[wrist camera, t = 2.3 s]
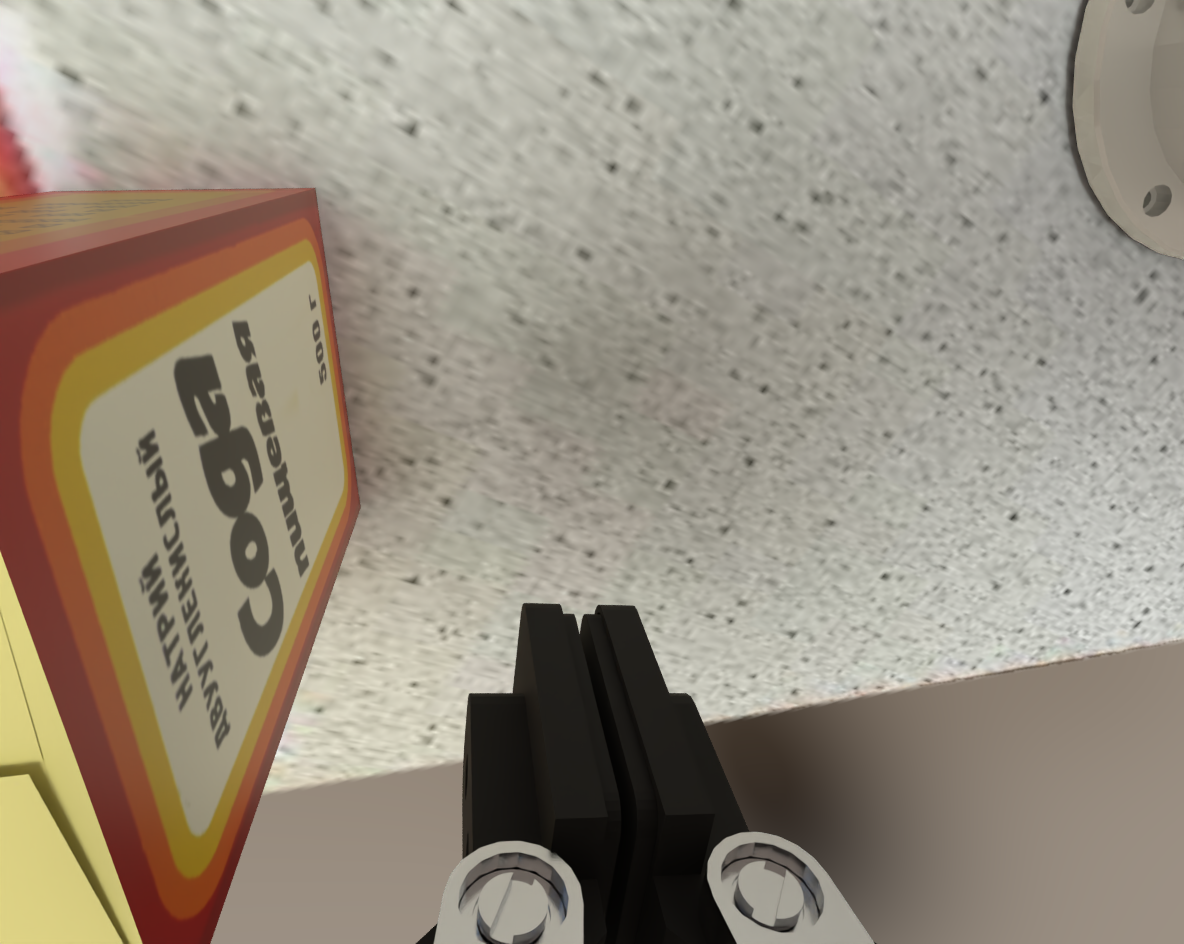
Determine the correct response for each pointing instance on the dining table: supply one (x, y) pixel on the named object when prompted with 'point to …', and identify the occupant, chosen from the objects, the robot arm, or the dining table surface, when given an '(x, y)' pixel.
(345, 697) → the dining table surface
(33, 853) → the baking soda box
